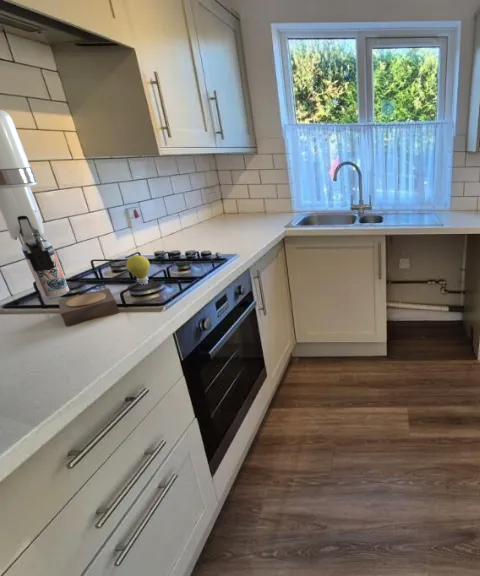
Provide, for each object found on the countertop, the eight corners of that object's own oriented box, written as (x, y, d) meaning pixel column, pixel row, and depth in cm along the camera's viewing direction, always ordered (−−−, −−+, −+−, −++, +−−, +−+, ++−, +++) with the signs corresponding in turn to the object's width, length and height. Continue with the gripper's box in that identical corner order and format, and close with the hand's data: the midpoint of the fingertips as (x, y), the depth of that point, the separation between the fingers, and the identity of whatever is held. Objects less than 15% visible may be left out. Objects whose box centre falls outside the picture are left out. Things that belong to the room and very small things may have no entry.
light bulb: (159, 280, 127) (151, 253, 123) (144, 287, 121) (135, 259, 117) (143, 279, 128) (135, 252, 124) (127, 286, 122) (118, 258, 118)
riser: (66, 326, 96) (60, 312, 95) (63, 312, 105) (57, 299, 103) (119, 312, 104) (114, 298, 102) (113, 300, 112) (108, 287, 110)
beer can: (51, 300, 77) (28, 246, 73) (37, 297, 79) (14, 244, 74) (75, 291, 81) (55, 240, 77) (61, 289, 83) (41, 238, 78)
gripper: (-14, 177, 74) (22, 261, 81) (-25, 184, 62) (19, 281, 69) (35, 174, 79) (65, 254, 86) (33, 180, 67) (69, 272, 74)
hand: (44, 265), depth 77 cm, fingers closed on beer can, 4 cm apart
